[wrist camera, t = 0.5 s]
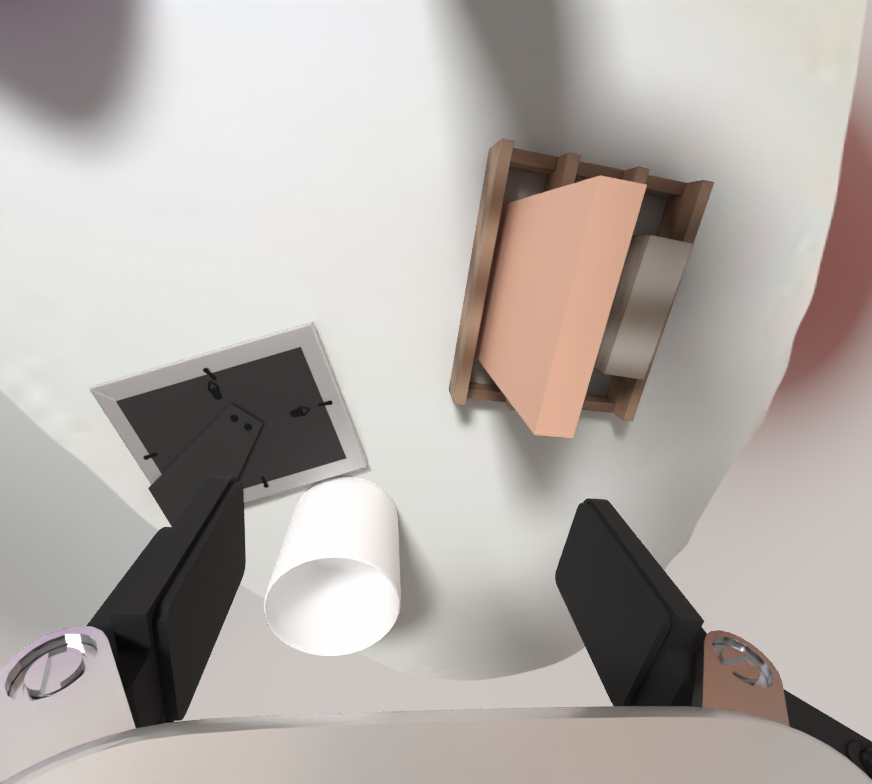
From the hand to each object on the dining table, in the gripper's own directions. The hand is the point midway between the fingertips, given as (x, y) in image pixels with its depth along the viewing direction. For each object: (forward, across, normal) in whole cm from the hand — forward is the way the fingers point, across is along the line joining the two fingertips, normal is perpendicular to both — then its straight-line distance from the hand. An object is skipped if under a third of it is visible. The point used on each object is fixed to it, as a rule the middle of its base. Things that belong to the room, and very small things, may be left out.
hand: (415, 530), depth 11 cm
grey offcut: (+30, -21, -4) cm, 37 cm away
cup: (+29, +3, +24) cm, 38 cm away
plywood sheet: (+30, -10, -4) cm, 32 cm away
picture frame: (+30, +14, +13) cm, 36 cm away
